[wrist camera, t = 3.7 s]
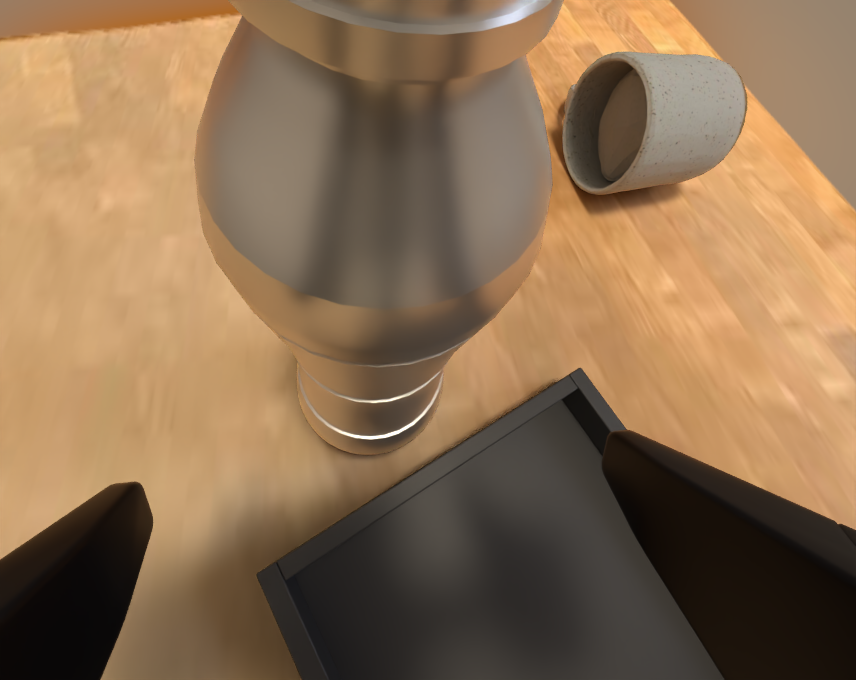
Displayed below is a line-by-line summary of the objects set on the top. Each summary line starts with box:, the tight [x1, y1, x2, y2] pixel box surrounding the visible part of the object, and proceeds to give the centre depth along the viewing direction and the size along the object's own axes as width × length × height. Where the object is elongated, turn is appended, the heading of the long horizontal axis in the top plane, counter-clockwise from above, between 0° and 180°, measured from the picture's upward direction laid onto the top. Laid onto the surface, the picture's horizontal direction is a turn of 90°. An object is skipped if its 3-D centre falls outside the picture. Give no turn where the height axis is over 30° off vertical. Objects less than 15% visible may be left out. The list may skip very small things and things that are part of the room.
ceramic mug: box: [562, 52, 747, 195], centre depth 27 cm, size 11×8×8 cm
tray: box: [256, 368, 724, 680], centre depth 17 cm, size 17×17×2 cm
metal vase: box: [194, 0, 564, 455], centre depth 12 cm, size 6×7×20 cm
